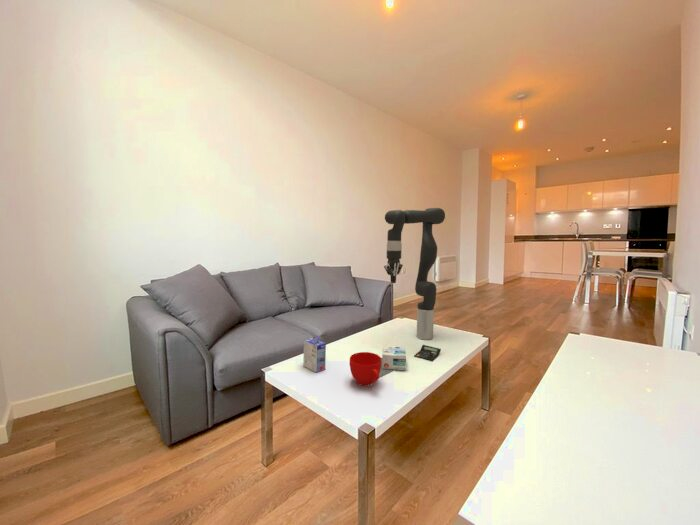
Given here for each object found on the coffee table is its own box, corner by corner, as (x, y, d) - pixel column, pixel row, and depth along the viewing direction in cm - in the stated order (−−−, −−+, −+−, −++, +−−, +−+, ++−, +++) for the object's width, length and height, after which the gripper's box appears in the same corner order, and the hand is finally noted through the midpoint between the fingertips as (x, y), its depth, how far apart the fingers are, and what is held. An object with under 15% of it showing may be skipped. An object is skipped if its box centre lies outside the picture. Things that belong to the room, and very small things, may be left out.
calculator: (413, 357, 146) (414, 351, 146) (422, 349, 155) (423, 344, 155) (432, 362, 140) (432, 356, 140) (440, 354, 150) (440, 348, 149)
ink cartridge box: (326, 369, 132) (326, 337, 130) (316, 373, 128) (316, 341, 126) (312, 362, 138) (312, 332, 137) (302, 366, 134) (302, 335, 133)
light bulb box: (404, 346, 140) (406, 355, 130) (404, 360, 141) (406, 370, 130) (382, 345, 142) (382, 354, 131) (382, 359, 142) (382, 369, 131)
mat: (372, 354, 148) (372, 354, 148) (401, 366, 135) (401, 366, 135) (349, 364, 137) (349, 363, 137) (378, 378, 124) (378, 377, 124)
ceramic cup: (361, 398, 109) (362, 372, 108) (344, 377, 124) (344, 354, 123) (392, 391, 114) (392, 366, 113) (371, 372, 129) (372, 350, 128)
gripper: (396, 248, 159) (395, 280, 160) (380, 249, 149) (379, 283, 151) (407, 249, 153) (406, 282, 155) (391, 250, 144) (390, 285, 146)
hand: (393, 282), depth 153 cm, fingers closed
